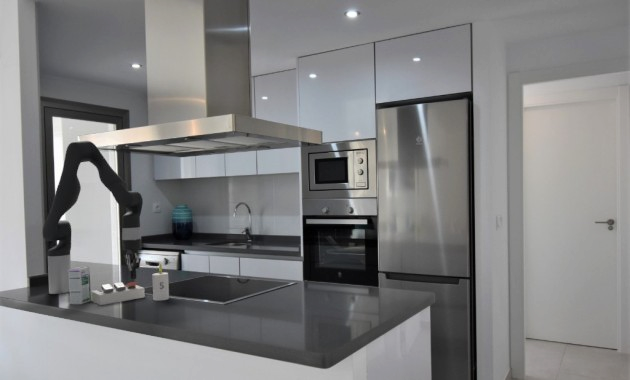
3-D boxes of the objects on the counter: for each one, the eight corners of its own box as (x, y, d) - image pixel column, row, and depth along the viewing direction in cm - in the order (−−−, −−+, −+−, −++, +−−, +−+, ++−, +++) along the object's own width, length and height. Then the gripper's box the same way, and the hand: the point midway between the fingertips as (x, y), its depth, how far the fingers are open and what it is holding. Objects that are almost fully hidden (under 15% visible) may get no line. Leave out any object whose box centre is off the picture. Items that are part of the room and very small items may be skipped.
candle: (154, 301, 194) (153, 264, 194) (152, 298, 200) (151, 262, 200) (170, 299, 197) (168, 263, 197) (167, 296, 203) (166, 261, 203)
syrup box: (82, 304, 193) (80, 268, 193) (69, 304, 195) (68, 268, 195) (91, 301, 199) (90, 266, 199) (78, 301, 200) (77, 266, 200)
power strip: (91, 300, 200) (90, 289, 200) (147, 291, 216) (146, 280, 216) (100, 305, 191) (100, 293, 191) (158, 294, 207) (157, 284, 207)
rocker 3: (126, 287, 204) (125, 284, 204) (133, 286, 206) (133, 283, 206) (130, 286, 200) (129, 282, 200) (137, 284, 202) (137, 281, 202)
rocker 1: (101, 288, 197) (101, 285, 197) (109, 287, 199) (109, 283, 199) (105, 293, 194) (105, 289, 193) (113, 291, 196) (113, 288, 195)
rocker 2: (113, 286, 200) (113, 283, 200) (121, 285, 203) (121, 281, 202) (117, 290, 197) (118, 287, 197) (125, 289, 199) (125, 286, 199)
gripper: (117, 238, 204) (118, 278, 204) (128, 239, 194) (130, 282, 194) (134, 236, 209) (136, 276, 209) (146, 238, 199) (148, 279, 199)
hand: (133, 278), depth 201 cm, fingers closed
